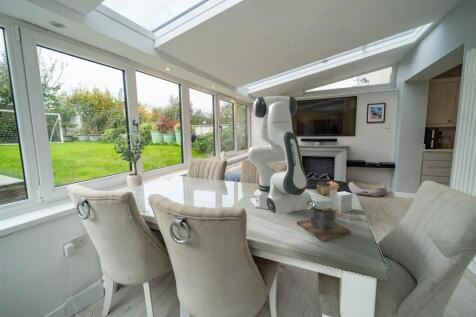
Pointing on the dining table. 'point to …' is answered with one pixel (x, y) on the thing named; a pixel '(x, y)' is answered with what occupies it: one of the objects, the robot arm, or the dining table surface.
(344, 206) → the small box
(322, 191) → the oak post
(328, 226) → the sleeve stand
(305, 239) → the dining table surface
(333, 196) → the pepper shaker
